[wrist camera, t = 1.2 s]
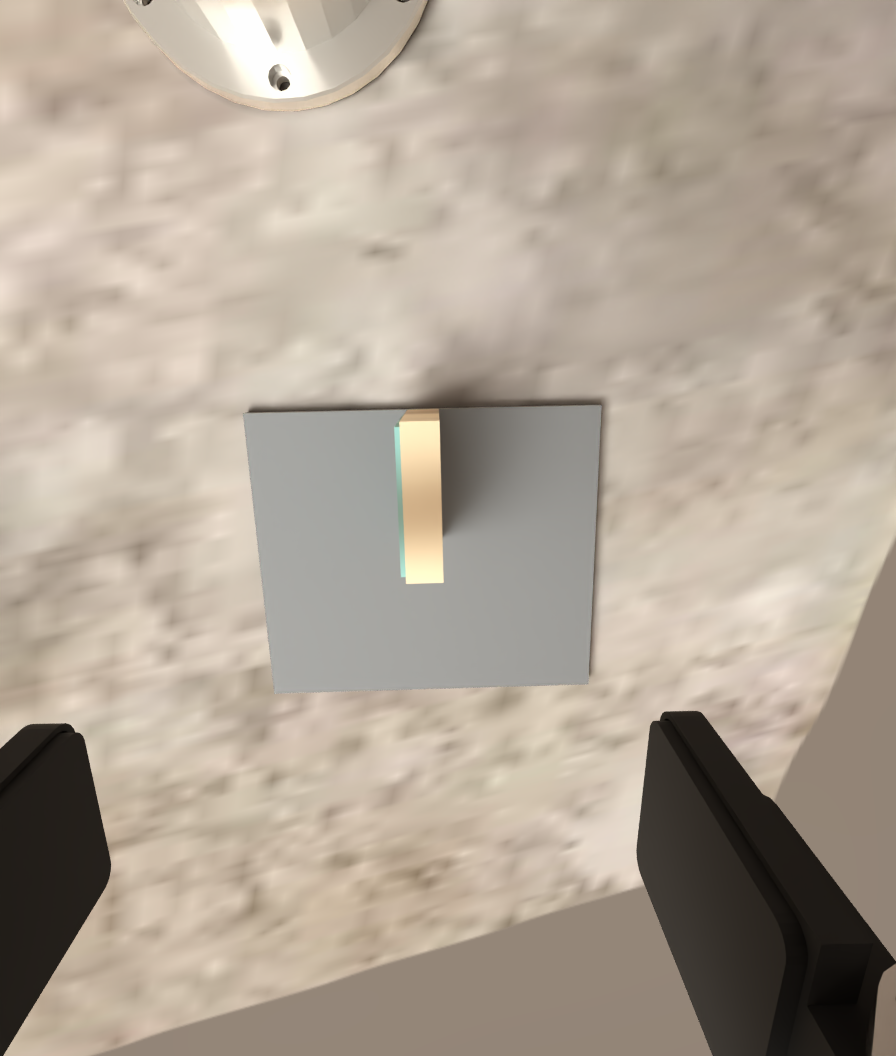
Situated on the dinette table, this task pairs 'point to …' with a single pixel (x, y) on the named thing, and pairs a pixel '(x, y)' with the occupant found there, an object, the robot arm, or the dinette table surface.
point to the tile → (419, 496)
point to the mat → (468, 549)
